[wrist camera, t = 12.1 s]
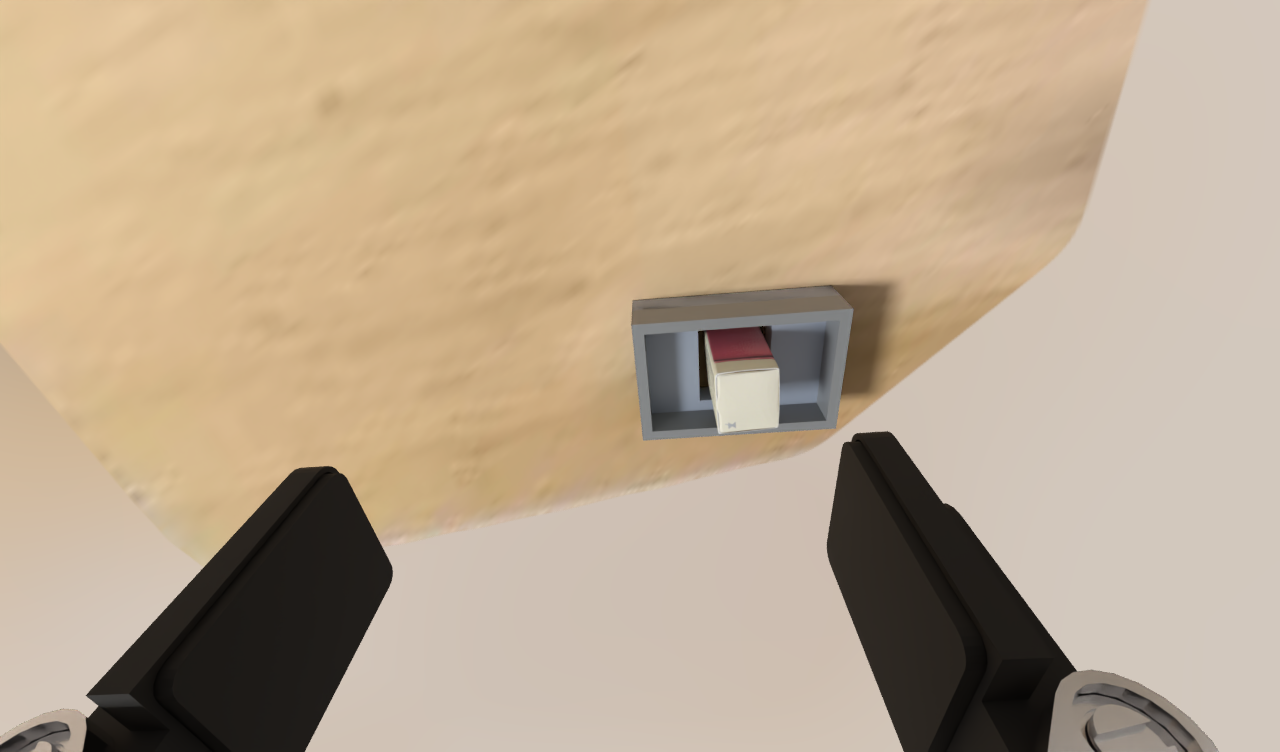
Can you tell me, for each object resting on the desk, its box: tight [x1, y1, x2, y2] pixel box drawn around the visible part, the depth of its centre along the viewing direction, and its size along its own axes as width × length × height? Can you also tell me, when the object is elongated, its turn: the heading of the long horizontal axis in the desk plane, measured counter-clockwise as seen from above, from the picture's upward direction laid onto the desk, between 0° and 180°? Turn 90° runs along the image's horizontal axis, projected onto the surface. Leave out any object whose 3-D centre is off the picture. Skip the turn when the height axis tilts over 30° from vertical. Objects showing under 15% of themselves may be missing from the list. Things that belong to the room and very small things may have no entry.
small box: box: [703, 326, 780, 434], centre depth 36 cm, size 5×4×8 cm
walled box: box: [631, 286, 854, 440], centre depth 38 cm, size 15×10×4 cm, turn 95°
